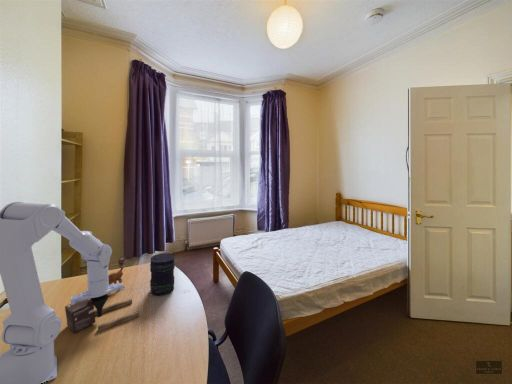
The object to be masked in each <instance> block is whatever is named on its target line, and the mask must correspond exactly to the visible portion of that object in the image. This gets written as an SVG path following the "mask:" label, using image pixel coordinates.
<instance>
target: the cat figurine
mask: <svg viewBox="0 0 512 384" xmlns="http://www.w3.org/2000/svg"><path fill="white" fill-rule="evenodd" d="M126 258H127V256H126V255H125V256H124V257H122V258H121V257H120V258H118V260H117V262H116V263H117V266H118V267H120V269H119V270H118V271H117V272H112V273H110V274H109V273H108V284H109V285H111V284H117V281H118V283H123V278H122V277H123V275H124V272H123V270H124V266H125V264H126ZM110 296H111V295H109V293H107V298H109V297H110ZM89 300H90V301H91V298H90V299H89ZM91 302H92V301H91Z"/></svg>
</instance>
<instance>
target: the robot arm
mask: <svg viewBox="0 0 512 384" xmlns="http://www.w3.org/2000/svg"><path fill="white" fill-rule="evenodd" d="M52 231H54V232H55V233H57V234H58V235H61V237H64V238H65V239H67V240H68V245H69V247H71V248H72V249H74V250H75V251H76V252H78V253H79V254H80V256H81V259H82V260H84V261H86V270H87V272H86V273H87V290H84V291H83V292H80V293H78V294H75V295H73V296H70V304H71V305H73V304H75V303H77V302H80V301H83V300H87V299H89V300H90V299H91V302H92V303H93V306H94V308H95V310H97V315H96V316H97V318H101V317H103V316H102V315H103V313H101V312H102V308H103V307H105V306H104V305H105V303H106V302H107V300H108V297H107V294H109V293H110V294H111V293H113V292H117V291H123V290H124V288H125V286H124V283H123V282H122V283H119V282H118V283H116V284H114V283H112V284H111V285H109V284H108V275H109V264H110V261H111V260H110V258H111V256H112V253H113V249H112V247H111V246H110V245H109V244H108V243H103V242H102V241H101V240H100V239H99V238H97V237H95V236H94V235H93V232H92V231H91V230H81V229H79V228H78V226H76V225H75V224H74V223H73V222H72V221H71V220H70V219H69V218H68V217H66V211H65V210H63V209H61V208H60V207H59V206H58V205H57V204H55V203H32V202H31V203H30V202H21V201H13V202H10V203H8V204H6V205H5V206H4V207H3V208H2V209H1V210H0V278H1V279H0V280H1V282H2V285H3V289H4V292H5V296H6V299H7V303H8V307H9V310H10V314H9V315H8V316H6V317H5V318H4V319H3V320H2V324H3V328H2V329H3V330H2V333H1V341H2V343H4V344H7V345H8V344H9V349H8V350H6V351H4V352H2V353H0V384H41V383H43V382H45V383H47V382H46V381H48V382H50V381H52V380H54V379H56V378H57V377H58V357H57V356H56V355H55V340H56V339H57V337H58V336H59V334H60V332H61V329H62V325H63V322H62V319H61V318H60V317H59V316H58V315H57V314H56V311H55V310H54V308H52V307H50V306H49V305H48V304H46V303H45V301H44V300H45V299H44V296H43V291H42V288H41V283H40V278H39V275H38V271H37V270H38V269H37V266H36V260H35V257H34V252H33V248H32V246H33V245H34V244H35V243H38V242H39V241H41V240H42V239H43V238H44V237H45V236H46V235H48V234H50V232H52ZM43 384H44V383H43Z"/></svg>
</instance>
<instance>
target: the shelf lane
mask: <svg viewBox="0 0 512 384" xmlns="http://www.w3.org/2000/svg"><path fill="white" fill-rule="evenodd" d="M131 304H133V299H132V298H129V299H125V300H122V301H120V302H119V301H118V302H117V303H113V304H110V305H107V306H103V308H102V312H101V313H102V314H104V313H107V312H110V311H113V310H116V309H119V308H123V307H125V306H128V305H131ZM94 314H95V316H98V315H97V309H94ZM138 317H140V312H139V311H137V310H136V311H135V312H132V313H129V314H126V315H123V316H121V317H118V318H116V319H113V320H110V321H107V322H104V323H102V324H101V323H100V324H98V325H97V330H98V332H101V331H104V330H107V329H109V328H112V327H114V326H117V325H120V324H123V323H126V322H129V321H130V320H133V319H135V318H138Z"/></svg>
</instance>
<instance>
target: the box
mask: <svg viewBox="0 0 512 384" xmlns="http://www.w3.org/2000/svg"><path fill="white" fill-rule="evenodd" d="M64 310H65V317H66V325H67V327H68V328H69V329H70V330H71V332H72V333H73V334H76V333H78V332H80V331H82V330H84V329H86V328H88V327H90V326H92V325H94V324H96V317H95V316H96V315H95V314H94V310H95V306H94V305H93V303H92V301H90V299H87V300H83V301H80V302H77V303H75V304H73V305H71V303H70V304H68V305H65V306H64Z"/></svg>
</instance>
